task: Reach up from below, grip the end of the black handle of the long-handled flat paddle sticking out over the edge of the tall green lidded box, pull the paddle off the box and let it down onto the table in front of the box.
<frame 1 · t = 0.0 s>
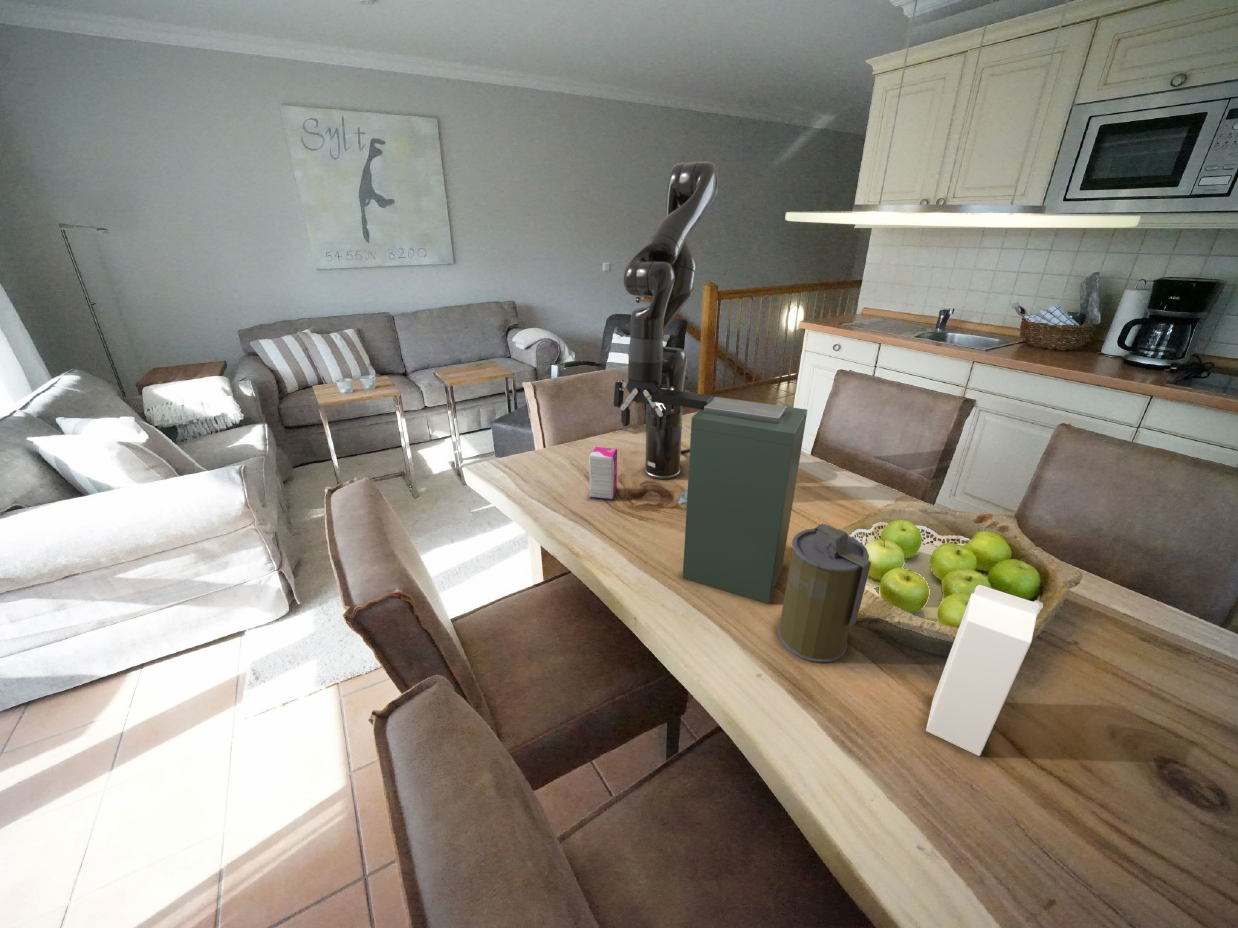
hand: (642, 428, 118), 17 cm above the table, tool pointing down, fingers open, 8 cm apart
canister: (812, 639, 81), on the table
milk: (954, 727, 67), on the table
supplement box: (603, 494, 125), on the table
tall green lidded box: (733, 572, 96), on the table
packaged food: (707, 508, 118), on the table
long-handled flat paddle: (715, 408, 85), point 32 cm above the table, touching tall green lidded box
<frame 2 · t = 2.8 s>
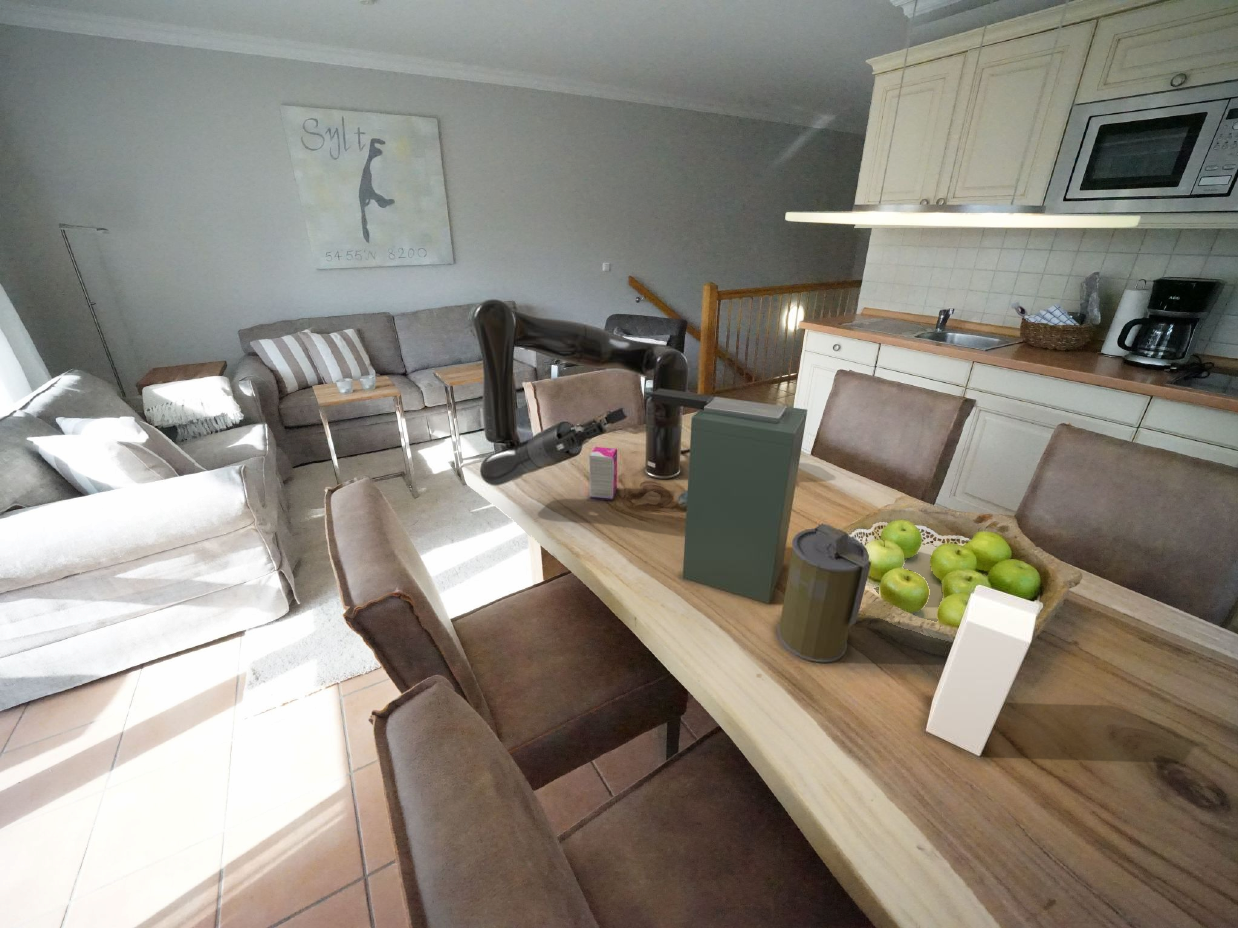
hand: (614, 419, 95), 27 cm above the table, tool pointing upward, fingers open, 8 cm apart
nothing on the table moved.
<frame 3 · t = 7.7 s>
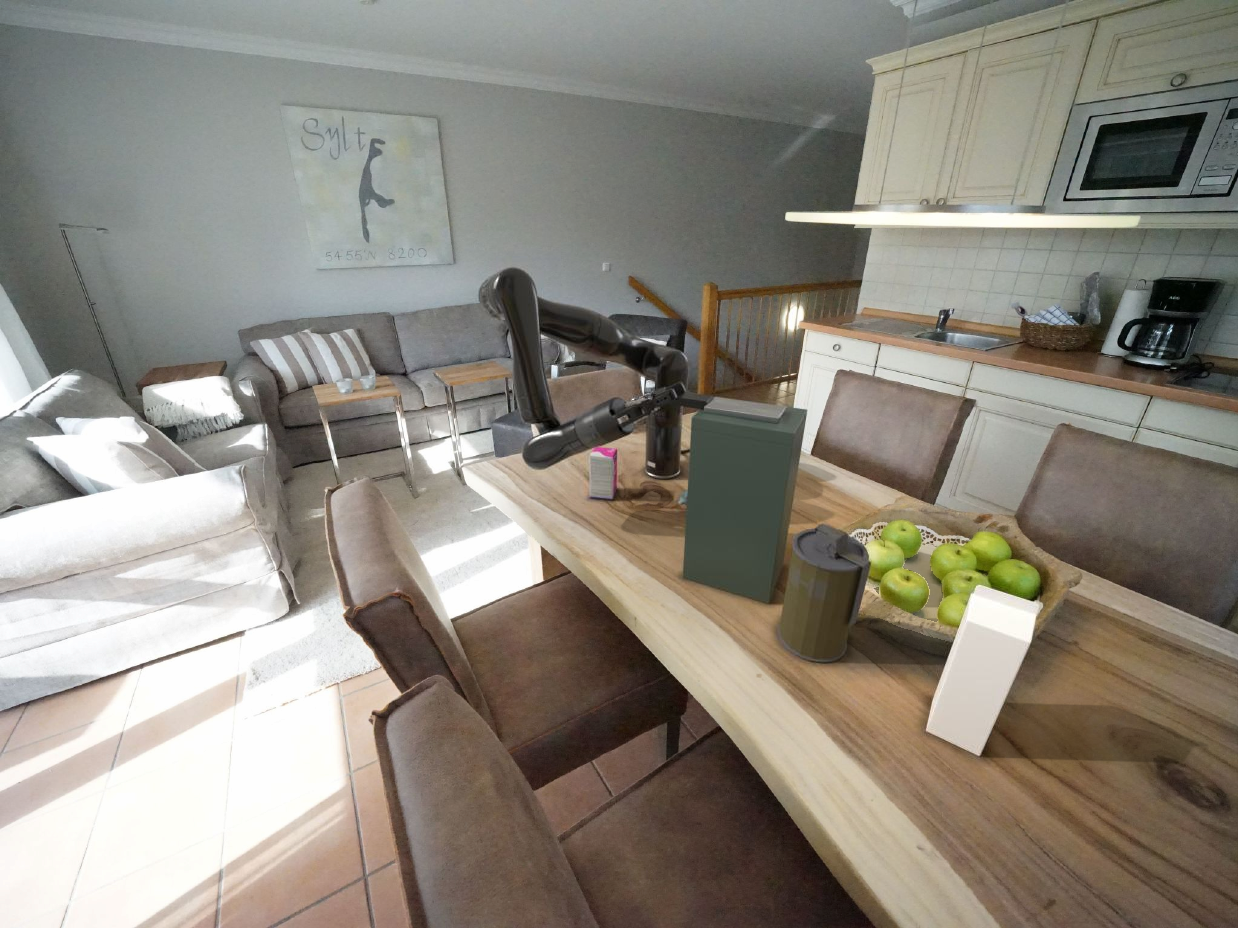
hand: (679, 390, 87), 34 cm above the table, tool pointing upward, fingers closed on long-handled flat paddle, 3 cm apart
long-handled flat paddle: (715, 408, 85), point 32 cm above the table, touching gripper, tall green lidded box
everything else where it was.
when the fingers open (22 cm above the table, at t = 16.2 s): long-handled flat paddle drops 20 cm, on the table.
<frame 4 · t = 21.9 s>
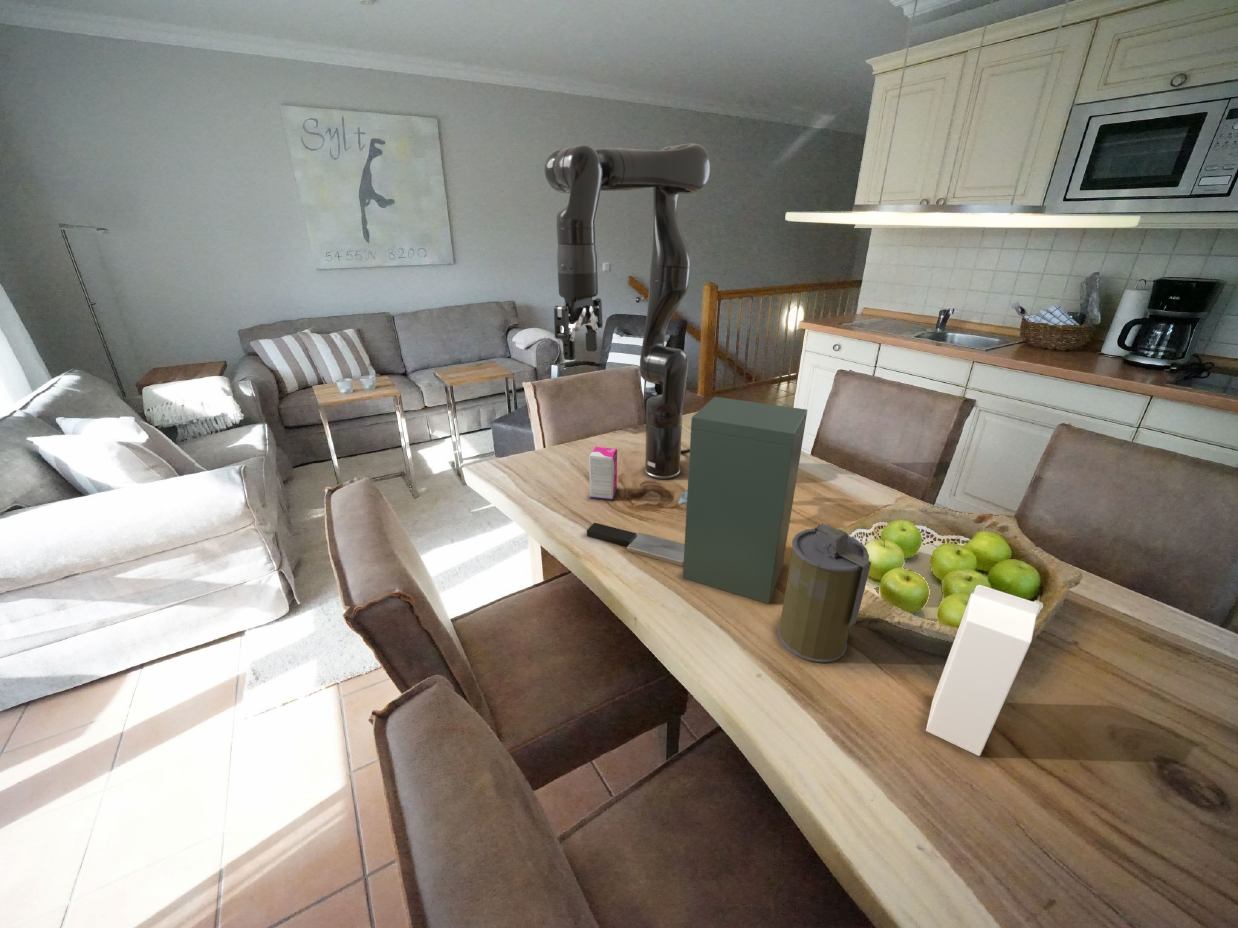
hand: (580, 355, 103), 36 cm above the table, tool pointing down, fingers open, 8 cm apart
long-handled flat paddle: (637, 544, 105), on the table
everything else where it was.
at the end: long-handled flat paddle inside the target area (4.7 cm from its centre), on the table; the gripper is holding nothing; long-handled flat paddle moved 35.0 cm from its start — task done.
